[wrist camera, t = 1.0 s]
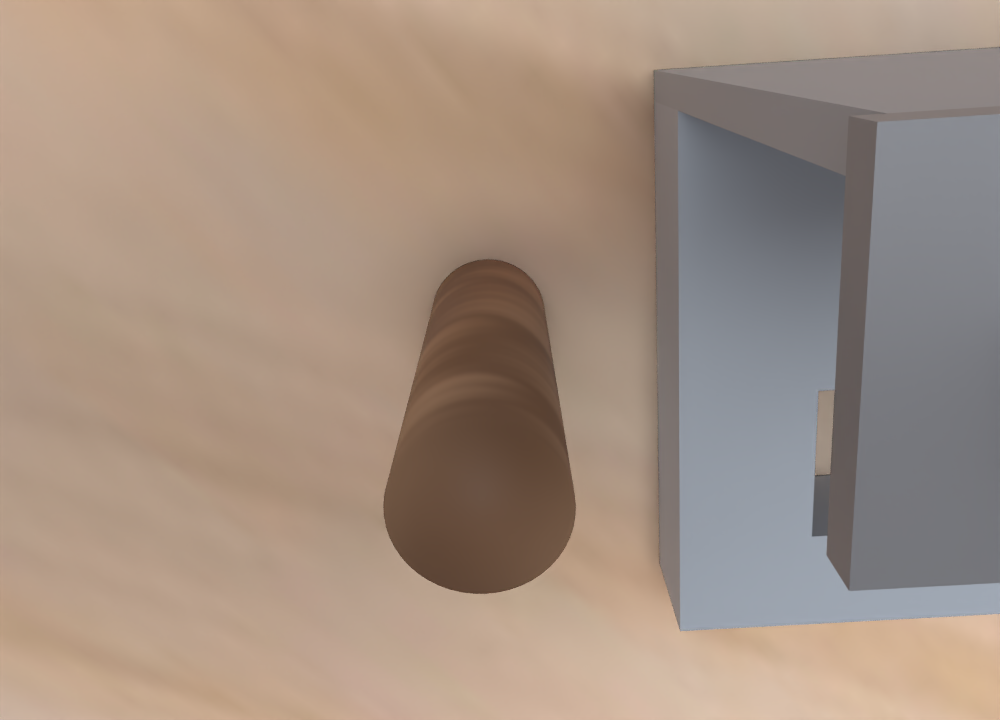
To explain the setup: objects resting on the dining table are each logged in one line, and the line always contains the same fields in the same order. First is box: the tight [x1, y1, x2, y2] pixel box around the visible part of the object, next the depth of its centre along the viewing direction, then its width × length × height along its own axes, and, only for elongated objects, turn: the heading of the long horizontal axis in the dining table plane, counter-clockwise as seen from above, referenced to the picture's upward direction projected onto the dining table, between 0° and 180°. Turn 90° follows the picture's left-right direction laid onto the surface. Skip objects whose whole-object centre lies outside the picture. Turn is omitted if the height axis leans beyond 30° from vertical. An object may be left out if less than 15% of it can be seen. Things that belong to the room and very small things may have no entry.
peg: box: [384, 260, 576, 594], centre depth 27 cm, size 4×4×15 cm
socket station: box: [654, 47, 1000, 631], centre depth 24 cm, size 15×18×21 cm
